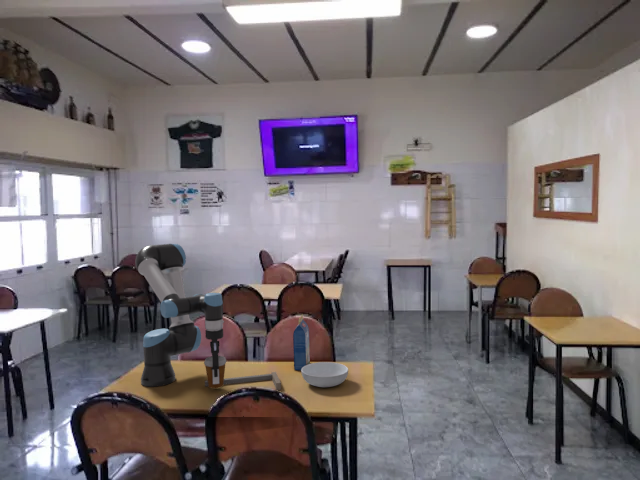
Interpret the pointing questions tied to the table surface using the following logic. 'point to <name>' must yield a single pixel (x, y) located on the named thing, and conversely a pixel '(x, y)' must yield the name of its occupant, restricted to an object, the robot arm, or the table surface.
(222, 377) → the disposable coffee cup
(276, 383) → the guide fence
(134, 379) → the table surface
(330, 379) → the serving bowl
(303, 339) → the blue food package
